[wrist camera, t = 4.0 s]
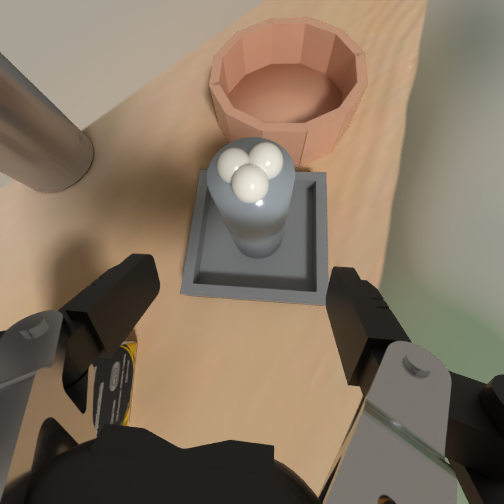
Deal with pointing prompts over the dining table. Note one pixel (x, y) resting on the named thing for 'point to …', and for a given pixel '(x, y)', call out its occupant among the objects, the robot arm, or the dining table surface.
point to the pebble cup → (253, 193)
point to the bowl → (289, 85)
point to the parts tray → (265, 269)
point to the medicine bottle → (114, 387)
